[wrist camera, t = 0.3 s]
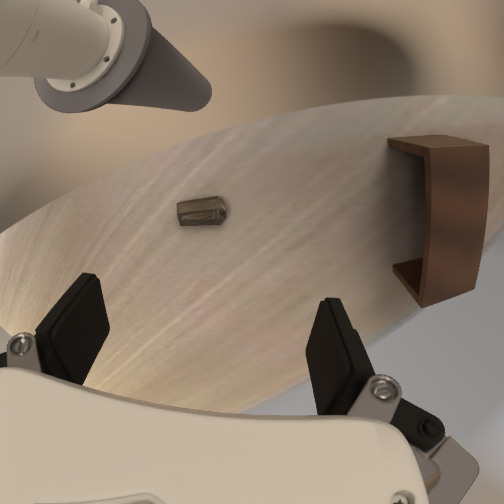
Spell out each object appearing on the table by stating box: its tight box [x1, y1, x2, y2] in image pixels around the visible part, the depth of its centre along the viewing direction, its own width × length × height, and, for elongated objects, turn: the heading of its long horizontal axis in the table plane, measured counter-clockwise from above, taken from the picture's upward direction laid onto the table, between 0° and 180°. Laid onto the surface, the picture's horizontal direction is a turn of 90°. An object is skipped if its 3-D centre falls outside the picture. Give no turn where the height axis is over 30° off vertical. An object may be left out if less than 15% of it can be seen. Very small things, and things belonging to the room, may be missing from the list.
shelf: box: [388, 135, 489, 308], centre depth 30 cm, size 20×10×10 cm, turn 12°
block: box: [177, 196, 226, 226], centre depth 34 cm, size 4×6×2 cm, turn 95°
